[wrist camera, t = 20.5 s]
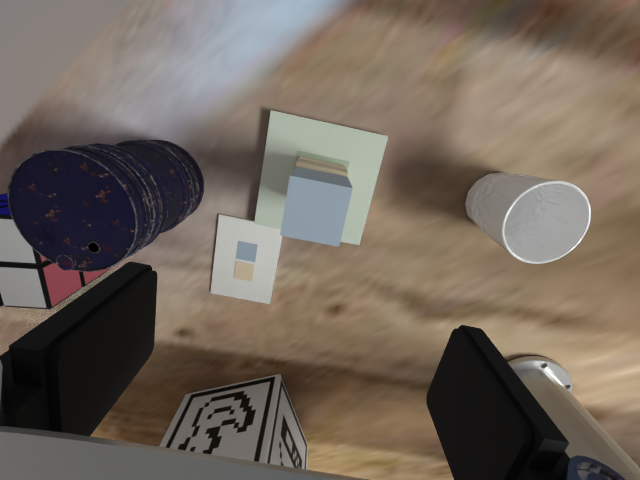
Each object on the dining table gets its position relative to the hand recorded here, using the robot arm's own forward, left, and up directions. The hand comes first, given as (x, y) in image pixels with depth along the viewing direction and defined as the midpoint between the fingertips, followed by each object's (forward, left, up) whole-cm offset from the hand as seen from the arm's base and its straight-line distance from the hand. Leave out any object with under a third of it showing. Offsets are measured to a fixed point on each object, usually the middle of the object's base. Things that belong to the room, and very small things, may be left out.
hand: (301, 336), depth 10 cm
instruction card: (-12, +7, -30) cm, 33 cm away
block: (-39, +3, -31) cm, 50 cm away
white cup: (+2, -21, -31) cm, 37 cm away
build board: (0, 0, -30) cm, 30 cm away
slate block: (0, 0, -23) cm, 23 cm away
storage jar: (-4, +18, -31) cm, 36 cm away
